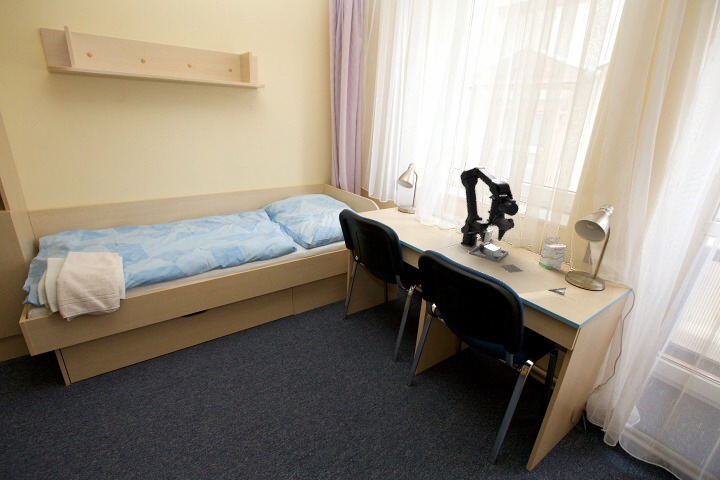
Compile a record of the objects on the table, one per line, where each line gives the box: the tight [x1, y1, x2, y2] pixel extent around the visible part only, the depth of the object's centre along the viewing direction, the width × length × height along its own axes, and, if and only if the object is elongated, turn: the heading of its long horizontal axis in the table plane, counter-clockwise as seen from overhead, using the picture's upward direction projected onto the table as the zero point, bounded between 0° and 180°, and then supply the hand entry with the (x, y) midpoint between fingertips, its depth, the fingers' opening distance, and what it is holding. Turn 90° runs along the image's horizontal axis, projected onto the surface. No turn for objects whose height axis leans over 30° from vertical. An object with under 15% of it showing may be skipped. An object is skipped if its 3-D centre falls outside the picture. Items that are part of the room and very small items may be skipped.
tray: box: [468, 244, 509, 263], centre depth 164 cm, size 14×14×2 cm
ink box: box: [538, 236, 568, 271], centre depth 151 cm, size 9×5×15 cm, turn 105°
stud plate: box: [500, 264, 524, 273], centre depth 149 cm, size 7×7×2 cm
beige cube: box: [479, 228, 494, 243], centre depth 187 cm, size 6×6×6 cm
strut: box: [479, 241, 502, 259], centre depth 162 cm, size 5×5×10 cm
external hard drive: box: [547, 287, 567, 296], centre depth 137 cm, size 2×8×12 cm
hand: (491, 241), depth 162 cm, fingers open, 9 cm apart
